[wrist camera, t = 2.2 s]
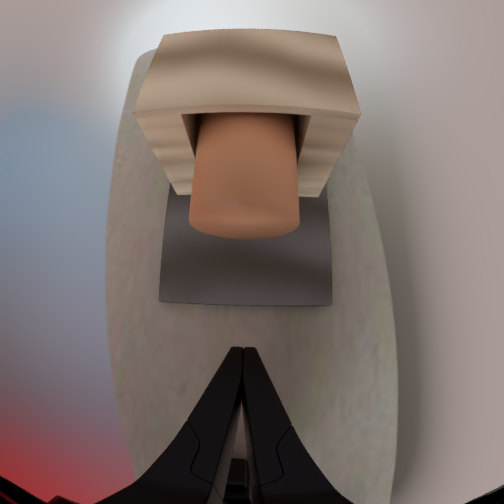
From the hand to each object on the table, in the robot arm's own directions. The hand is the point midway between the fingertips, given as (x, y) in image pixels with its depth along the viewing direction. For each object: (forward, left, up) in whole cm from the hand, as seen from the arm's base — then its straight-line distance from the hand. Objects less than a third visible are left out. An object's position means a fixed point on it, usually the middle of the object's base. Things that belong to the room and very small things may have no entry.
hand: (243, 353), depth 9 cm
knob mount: (+11, 0, -13) cm, 17 cm away
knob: (+10, 0, -8) cm, 12 cm away
